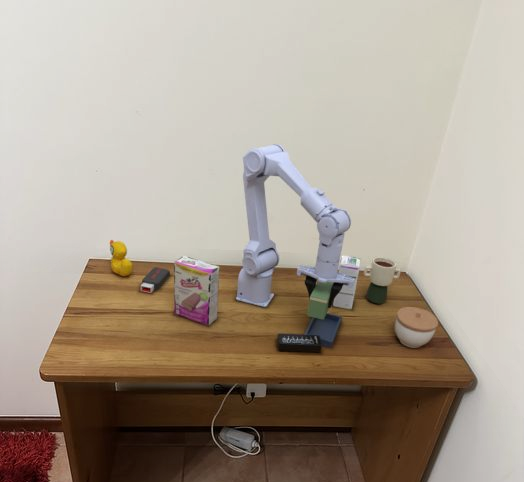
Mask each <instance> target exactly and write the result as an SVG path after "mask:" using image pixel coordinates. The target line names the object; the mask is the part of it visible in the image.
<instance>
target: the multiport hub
mask: <svg viewBox="0 0 524 482" xmlns="http://www.w3.org/2000/svg"><path fill="white" fill-rule="evenodd" d="M276 343H277V350H278V351H280V352H302V353H321V351H322V347H323V345H322V343H321V339H320V336H319V335H304V334H302V333H301V334H299V333H297V334H296V333H277V339H276Z"/></svg>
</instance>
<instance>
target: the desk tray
mask: <svg viewBox="0 0 524 482" xmlns="http://www.w3.org/2000/svg"><path fill="white" fill-rule="evenodd" d="M342 319H343V316H342V315H341V316H340V315H336V314H332V313H329V312H327V313H326V316H325V318H324V320H322V319H318V318H314V317H311V319H310V322H309V323H308V326H307V328H306V330H305V332H304V334H303V335H319V336H320V339H321V343H322V347H325V348H326V347H327V348H330V349H332V347H333V345H334V342H335V339H336V337H337V334H338V331H339V330H340V326H341V323H342Z"/></svg>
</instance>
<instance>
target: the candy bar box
mask: <svg viewBox="0 0 524 482" xmlns="http://www.w3.org/2000/svg"><path fill="white" fill-rule="evenodd" d="M219 284H220V266H218V265H215V264H212V263H208V262H206V261H203V260H199V259H196V258H194V257H190V256H187V255H182V256H180V257H179V258H178V259H176V260H175V261H174V262H173V285H174V286H173V294H174V297H173V298H174V299H173V303H174V305H173V306H174V307H173V309H174V312H173V313H174V315H176V316H178V317H181V318H183V319H184V318H185V319H187V320H191V321H193V322H196V323H198V324H202V325H204V326H207V327H210V325H212V324H213V323H214V322H215V321H216V320H217V319H218V308H219V307H218V306H219V288H220V287H219V286H220V285H219Z"/></svg>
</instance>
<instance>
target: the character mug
mask: <svg viewBox="0 0 524 482" xmlns="http://www.w3.org/2000/svg"><path fill="white" fill-rule="evenodd" d="M368 270H369V272H368ZM401 272H402V269H401V268H397V263H396V261H395V260H393V259H391V258H389V257H385V256H376V257H374V258H373V259H372V261H371V264H370V265H366V266H364V269H363V274H362V275H363V276H364V277H368V280H369V281H370V283H369V286H368V288H367V290H366V294H365V297H366V299H367V300H368V301H370V302H371V303H374V304H383V303H385V302H387V297H388V286H390V285H391V284H392V283H393V281H394V279H397V280H398V279H399V278H400V276H401ZM395 273H396V274H395Z"/></svg>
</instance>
